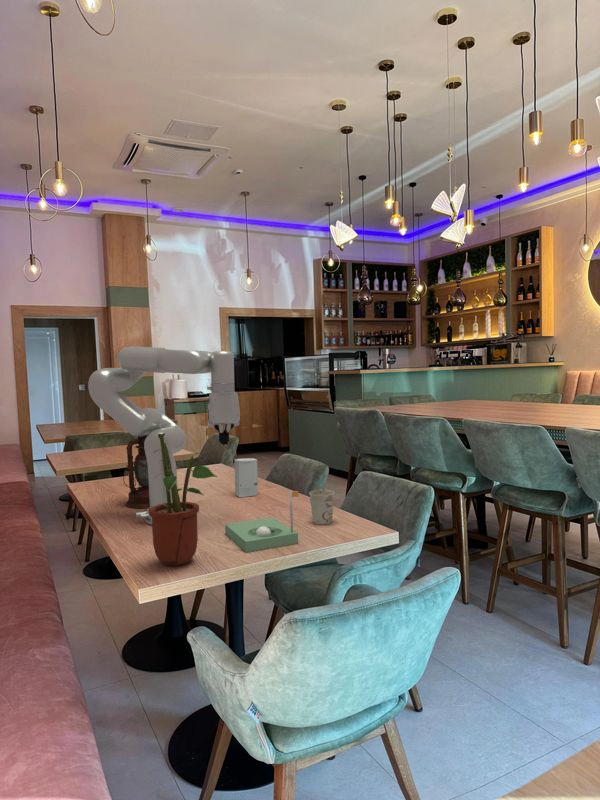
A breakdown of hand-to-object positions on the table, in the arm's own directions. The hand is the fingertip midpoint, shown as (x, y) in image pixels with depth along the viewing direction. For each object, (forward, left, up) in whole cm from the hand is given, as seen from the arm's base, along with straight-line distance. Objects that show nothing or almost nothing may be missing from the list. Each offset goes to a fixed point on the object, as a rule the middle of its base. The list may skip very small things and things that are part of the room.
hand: (224, 444), depth 183 cm
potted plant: (-21, -28, -27) cm, 44 cm away
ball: (+4, -24, -24) cm, 35 cm away
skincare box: (+19, +35, -27) cm, 48 cm away
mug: (+28, -13, -27) cm, 41 cm away
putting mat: (+4, -21, -27) cm, 34 cm away
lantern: (-18, +43, -27) cm, 54 cm away
